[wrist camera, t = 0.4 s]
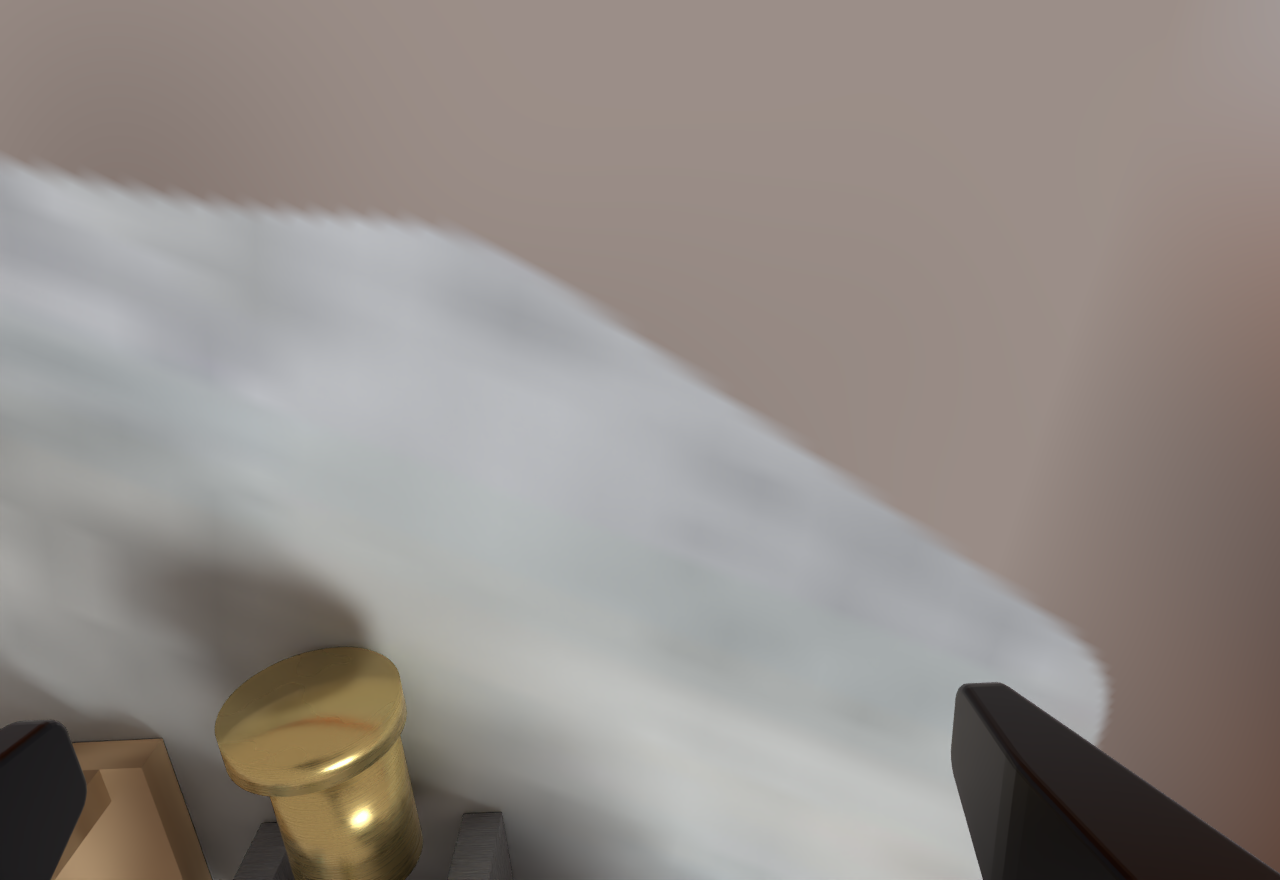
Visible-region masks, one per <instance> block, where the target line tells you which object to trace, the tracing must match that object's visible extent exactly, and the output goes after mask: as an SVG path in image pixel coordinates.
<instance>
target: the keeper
mask: <svg viewBox="0 0 1280 880" xmlns="http://www.w3.org/2000/svg"><path fill="white" fill-rule="evenodd" d="M233 880H295V879H294V875H293V872H292V869H291V865H290V862H289V859H288V855H287V852H286V849H285V846H284V842H283V839H282V836H281V832H280V829H279V826H278V822H276V823H262V824H261V826H260V828H259V830H258V832H257V833H256V835H255V837H254V839H253V841H252V843H251V845H250V847H249V849H248V851H247V853H246V855H245V857H244V859H243V861H242V863H241V865H240V867H239V869H238V871H237V873H236V875H235V877H234V879H233ZM447 880H513V874H512V869H511V863H510V857H509V851H508V845H507V840H506V834H505V828H504V822H503V817H502V812H497V813H475V814H463V818H462V822H461V826H460V830H459V834H458V838H457V842H456V846H455V850H454V854H453V858H452V862H451V867H450V871H449V875H448V879H447Z"/></svg>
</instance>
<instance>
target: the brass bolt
mask: <svg viewBox="0 0 1280 880" xmlns="http://www.w3.org/2000/svg"><path fill="white" fill-rule="evenodd" d="M406 714H407V711H406V704H405V699H404V695H403V690H402V685H401V681H400V676H399V673H398V670H397V668H396V667H395V665H394V664H393V663H392V662H391V661H390V660H389V659H388V658H386V657H385V656H383V655H381V654H379V653H377V652H374V651H371V650H368V649H362V648H354V647H335V648H326V649H319V650H314V651H310V652H306V653H302V654H299V655H296V656H293V657H290V658H288V659H285V660H282V661H280V662H278V663H276V664H274V665H272V666H270V667H268V668H266V669H264V670H262V671H261V672H259V673H257V674H256V675H254V676H253V677H251V678H250V679H249V680H247V681H246V682H245V683H243V684H242V685H241V686H240V687H239V688H238V689H236V690H235V691H234V692H233V694H232V695H231V696H230V697H229V698H228V699H227V701H226V702H225V703H224V705H223V706H222V708H221V710H220V711H219V713H218V716H217V719H216V723H215V736H216V739H217V742H218V746H219V749H220V752H221V755H222V758H223V761H224V764H225V767H226V770H227V773H228V775H229V777H230V778H231V780H232V781H233V782H234V783H235V784H236V785H238V786H239V787H241V788H242V789H244V790H246V791H249V792H251V793H254V794H258V795H262V796H270V799H271V803H272V806H273V809H274V812H275V816H276V819H277V822H278V826H279V829H280V832H281V836H282V839H283V842H284V846H285V849H286V852H287V855H288V859H289V862H290V865H291V869H292V872H293V875H294V879H295V880H405V879H406V878H407V876H408V875H409V874H410V873H411V872H412V870H413V869H414V867H415V866H416V864H417V862H418V860H419V857H420V855H421V851H422V846H423V838H422V832H421V827H420V823H419V818H418V814H417V809H416V805H415V800H414V796H413V791H412V787H411V782H410V778H409V773H408V769H407V764H406V759H405V755H404V750H403V746H402V741H401V737H400V734H401V732H402V730H403V728H404V725H405V721H406Z"/></svg>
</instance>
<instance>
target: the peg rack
mask: <svg viewBox="0 0 1280 880" xmlns="http://www.w3.org/2000/svg"><path fill="white" fill-rule="evenodd" d="M72 744H73V747H74V750H75V752H76V755H77V758H78V760H79V763H80V766H81V768H82V771H83V774H84V776H85V779H86V783H87V796H86V801H85V805H84V808H83V811H82V813H81V815H80V817H79V819H78V822H77V824H76V826H75V828H74V830H73V832H72V835H71V837H70V839H69V841H68V843H67V845H66V848H65V850H64V852H63V854H62V856H61V858H60V861H59V863H58V865H57V867H56V869H55V872H54V874H53V876H52V878H51V880H212V878H211V875H210V873H209V870H208V867H207V864H206V861H205V858H204V856H203V853H202V850H201V847H200V844H199V841H198V838H197V836H196V833H195V830H194V827H193V824H192V821H191V819H190V816H189V813H188V810H187V807H186V804H185V801H184V799H183V796H182V793H181V790H180V787H179V784H178V782H177V779H176V776H175V773H174V770H173V767H172V765H171V762H170V759H169V756H168V753H167V750H166V747H165V745H164V742H163V739H143V740H122V741H102V742H82V743H72Z"/></svg>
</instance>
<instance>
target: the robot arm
mask: <svg viewBox="0 0 1280 880" xmlns="http://www.w3.org/2000/svg"><path fill="white" fill-rule="evenodd" d="M951 762H952V769H953V774H954V778H955V782H956V785H957V789H958V793H959V796H960V800H961V803H962V807H963V810H964V814H965V817H966V821H967V825H968V828H969V832H970V835H971V839H972V842H973V846H974V850H975V853H976V857H977V860H978V864H979V867H980V871H981V874H982V878H983V880H1280V873H1278V872H1277V871H1275V870H1274V869H1272V868H1271V867H1270V866H1268V865H1267V864H1265V863H1264V862H1262V861H1261V860H1259V859H1258V858H1256V857H1255V856H1253V855H1252V854H1251V853H1249V852H1248V851H1246V850H1245V849H1243V848H1242V847H1241V846H1239V845H1238V844H1236V843H1235V842H1233V841H1232V840H1230V839H1229V838H1227V837H1226V836H1225V835H1223V834H1222V833H1220V832H1219V831H1217V830H1216V829H1214V828H1213V827H1211V826H1210V825H1208V824H1207V823H1206V822H1204V821H1203V820H1201V819H1200V818H1198V817H1197V816H1196V815H1194V814H1193V813H1191V812H1190V811H1188V810H1187V809H1185V808H1184V807H1182V806H1181V805H1180V804H1178V803H1177V802H1175V801H1174V800H1172V799H1171V798H1169V797H1168V796H1166V795H1165V794H1164V793H1162V792H1161V791H1159V790H1158V789H1156V788H1155V787H1153V786H1152V785H1151V784H1149V783H1148V782H1146V781H1145V780H1143V779H1142V778H1140V777H1139V776H1137V775H1136V774H1135V773H1133V772H1132V771H1130V770H1129V769H1127V768H1126V767H1124V766H1123V765H1121V764H1120V763H1118V762H1117V761H1116V760H1114V759H1113V758H1111V757H1110V756H1108V755H1107V754H1106V753H1104V752H1103V751H1101V750H1100V749H1098V748H1097V747H1095V746H1094V745H1092V744H1091V743H1090V742H1088V741H1087V740H1085V739H1084V738H1082V737H1081V736H1079V735H1078V734H1077V733H1075V732H1074V731H1072V730H1071V729H1069V728H1068V727H1066V726H1065V725H1063V724H1062V723H1061V722H1059V721H1058V720H1056V719H1055V718H1053V717H1052V716H1050V715H1049V714H1047V713H1046V712H1045V711H1043V710H1042V709H1040V708H1039V707H1037V706H1036V705H1034V704H1033V703H1032V702H1030V701H1029V700H1027V699H1026V698H1024V697H1023V696H1021V695H1020V694H1018V693H1017V692H1016V691H1014V690H1013V689H1011V688H1010V687H1008V686H1006V685H1005V684H1002V683H998V682H992V683H968V684H963V685H962V686H961V687H960V688H959V689H958V691H957V694H956V699H955V711H954V722H953V733H952V744H951ZM86 796H87V783H86V779H85V776H84V774H83V771H82V768H81V766H80V763H79V760H78V758H77V755H76V752H75V750H74V747H73V744H72V742H71V739H70V736H69V734H68V731H67V729H66V728H65V727H64V726H63V725H62V724H61V723H60V722H58V721H55V720H34V721H19V722H15V723H12V724H10V725H8V726H6V727H4V728H2V729H0V880H51V878H52V876H53V874H54V872H55V869H56V867H57V865H58V863H59V861H60V858H61V856H62V854H63V852H64V850H65V848H66V845H67V843H68V841H69V839H70V837H71V835H72V832H73V830H74V828H75V826H76V824H77V822H78V819H79V817H80V815H81V813H82V811H83V808H84V805H85V801H86Z"/></svg>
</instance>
